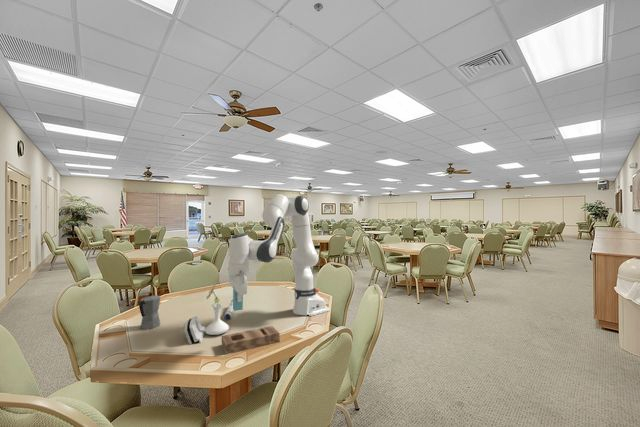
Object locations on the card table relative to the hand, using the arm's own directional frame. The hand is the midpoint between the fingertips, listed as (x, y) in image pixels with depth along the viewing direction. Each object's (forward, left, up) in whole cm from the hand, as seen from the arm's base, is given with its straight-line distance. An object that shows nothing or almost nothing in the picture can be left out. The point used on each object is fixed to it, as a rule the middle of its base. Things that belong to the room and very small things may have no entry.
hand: (238, 300), depth 126 cm
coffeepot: (+37, -45, -20) cm, 61 cm away
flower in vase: (+7, -19, -20) cm, 28 cm away
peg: (0, 0, -4) cm, 4 cm away
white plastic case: (+16, -19, -21) cm, 33 cm away
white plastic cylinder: (-6, -46, -21) cm, 51 cm away
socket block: (-5, +1, -20) cm, 21 cm away
